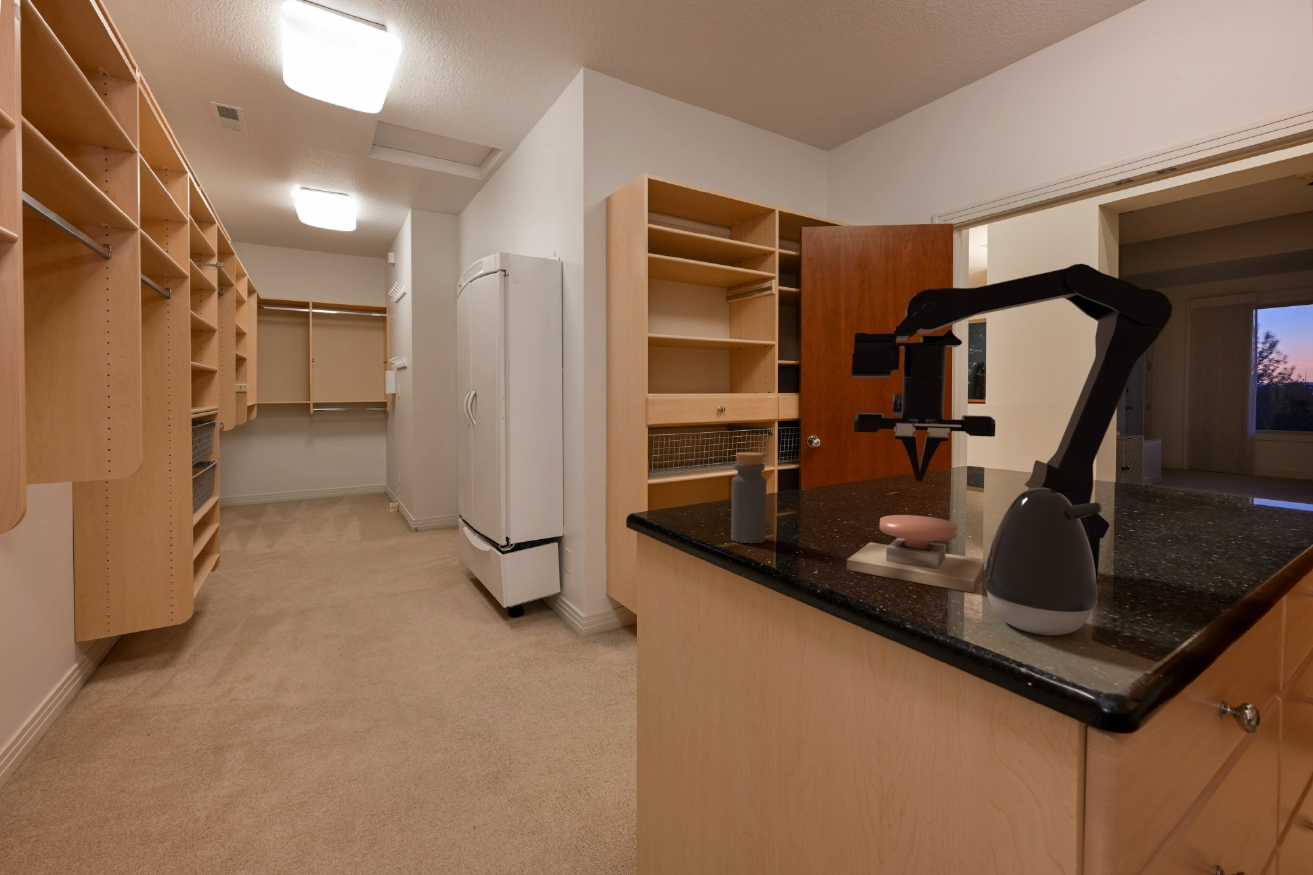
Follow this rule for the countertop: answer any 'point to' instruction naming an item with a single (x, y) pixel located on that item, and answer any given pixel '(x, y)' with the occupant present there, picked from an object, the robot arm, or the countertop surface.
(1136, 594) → the countertop surface
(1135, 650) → the countertop surface
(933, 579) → the button base
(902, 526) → the button
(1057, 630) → the pump dispenser
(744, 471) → the bottle
